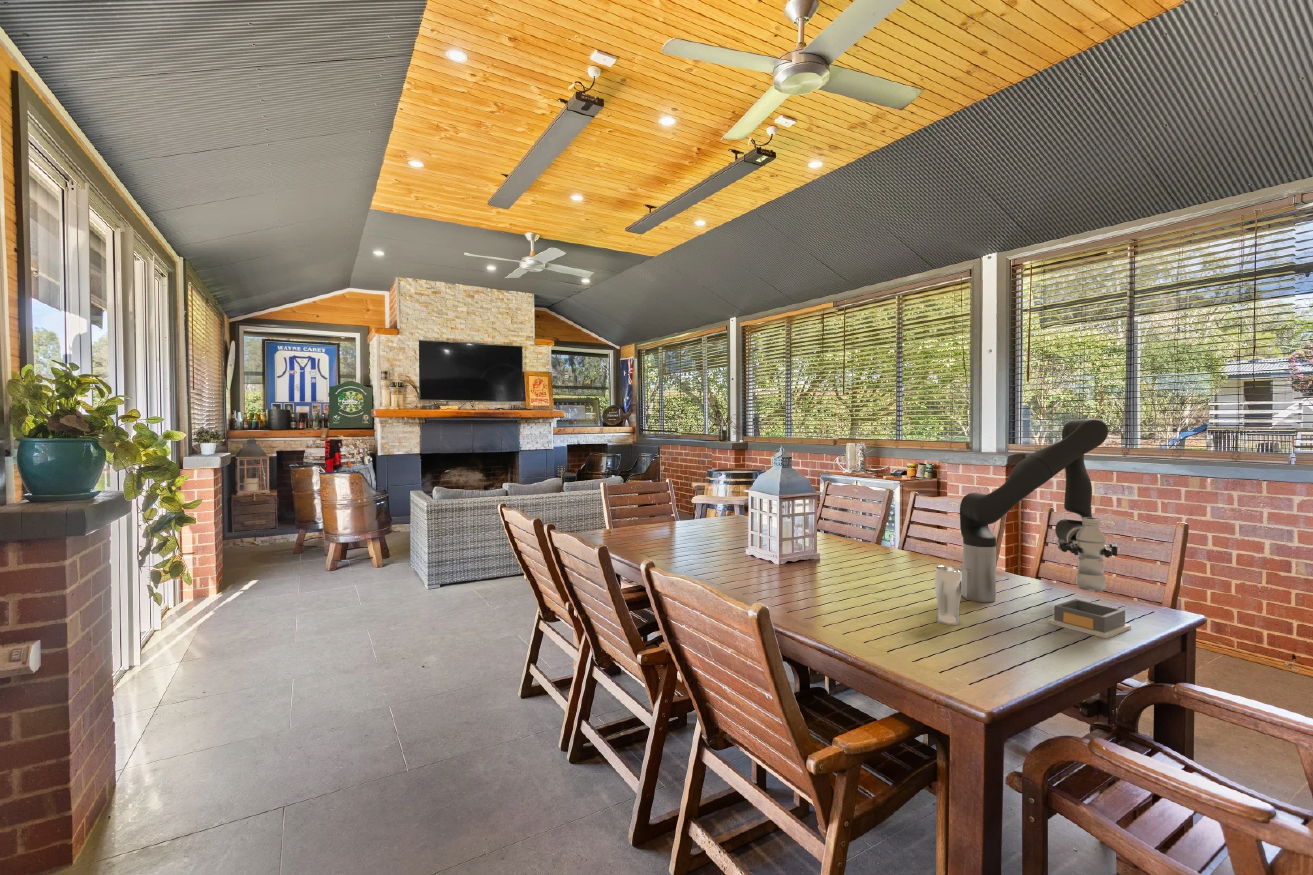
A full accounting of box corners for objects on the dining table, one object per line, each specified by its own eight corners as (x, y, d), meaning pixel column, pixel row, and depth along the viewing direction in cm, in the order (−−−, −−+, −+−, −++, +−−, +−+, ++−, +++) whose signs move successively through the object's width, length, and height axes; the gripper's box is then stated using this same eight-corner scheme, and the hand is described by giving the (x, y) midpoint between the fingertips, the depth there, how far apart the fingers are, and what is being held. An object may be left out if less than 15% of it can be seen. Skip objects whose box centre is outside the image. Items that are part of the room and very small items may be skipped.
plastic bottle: (1111, 594, 160) (1111, 520, 159) (1082, 593, 161) (1083, 519, 161) (1098, 587, 166) (1099, 516, 166) (1071, 586, 168) (1071, 515, 167)
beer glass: (961, 619, 169) (962, 566, 169) (962, 627, 163) (963, 572, 163) (934, 616, 172) (934, 564, 172) (934, 623, 166) (934, 569, 166)
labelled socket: (1107, 638, 154) (1107, 619, 154) (1048, 623, 166) (1048, 605, 166) (1130, 628, 162) (1131, 610, 162) (1073, 614, 174) (1073, 597, 173)
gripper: (1053, 526, 179) (1060, 536, 165) (1113, 530, 173) (1125, 541, 158) (1053, 551, 180) (1060, 563, 165) (1113, 556, 173) (1125, 569, 158)
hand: (1092, 552), depth 161 cm, fingers closed on plastic bottle, 6 cm apart
